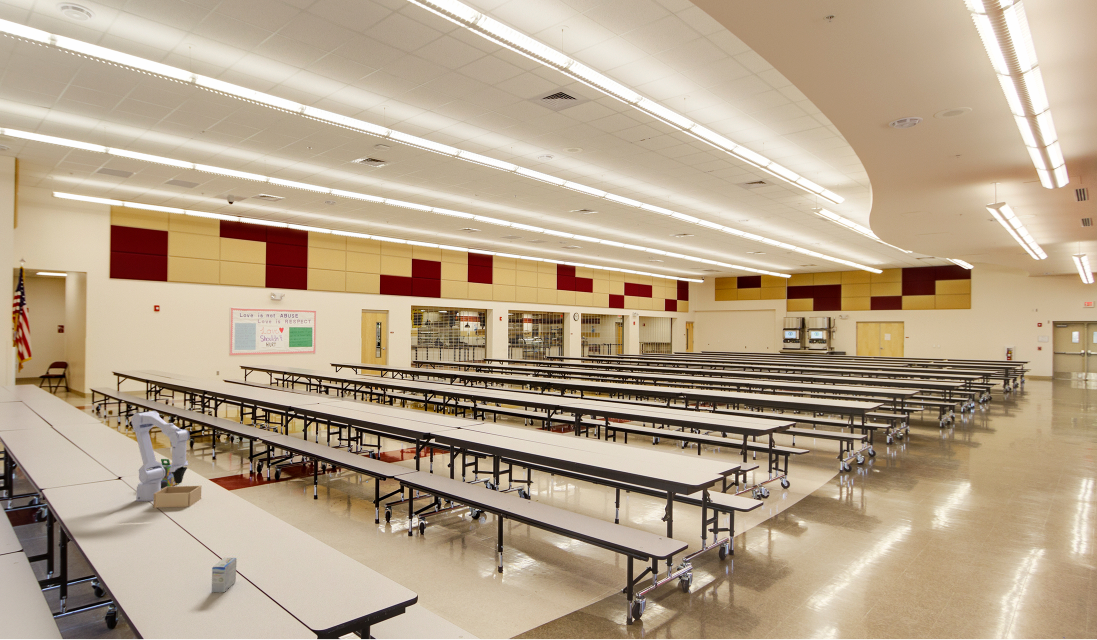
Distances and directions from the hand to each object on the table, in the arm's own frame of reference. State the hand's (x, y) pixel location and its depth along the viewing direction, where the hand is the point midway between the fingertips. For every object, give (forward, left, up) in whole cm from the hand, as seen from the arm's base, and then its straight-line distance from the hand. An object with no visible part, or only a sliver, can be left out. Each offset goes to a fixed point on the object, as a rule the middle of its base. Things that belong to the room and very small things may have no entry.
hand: (178, 482), depth 274 cm
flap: (0, -6, -10) cm, 11 cm away
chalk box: (-21, +34, -11) cm, 41 cm away
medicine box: (+56, -94, -11) cm, 110 cm away
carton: (0, 0, -11) cm, 11 cm away
